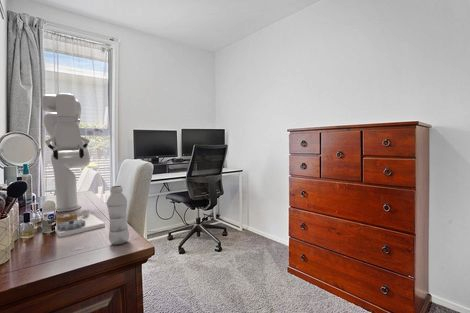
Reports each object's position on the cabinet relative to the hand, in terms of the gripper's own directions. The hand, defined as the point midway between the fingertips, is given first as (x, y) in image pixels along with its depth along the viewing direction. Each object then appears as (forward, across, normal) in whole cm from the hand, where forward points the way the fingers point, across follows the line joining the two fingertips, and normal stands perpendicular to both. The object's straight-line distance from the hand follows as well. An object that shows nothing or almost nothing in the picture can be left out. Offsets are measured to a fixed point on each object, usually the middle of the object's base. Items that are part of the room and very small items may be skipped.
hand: (69, 158), depth 118 cm
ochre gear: (+27, +4, +9) cm, 29 cm away
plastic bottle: (+28, -5, +46) cm, 54 cm away
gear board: (+28, +1, +13) cm, 31 cm away
